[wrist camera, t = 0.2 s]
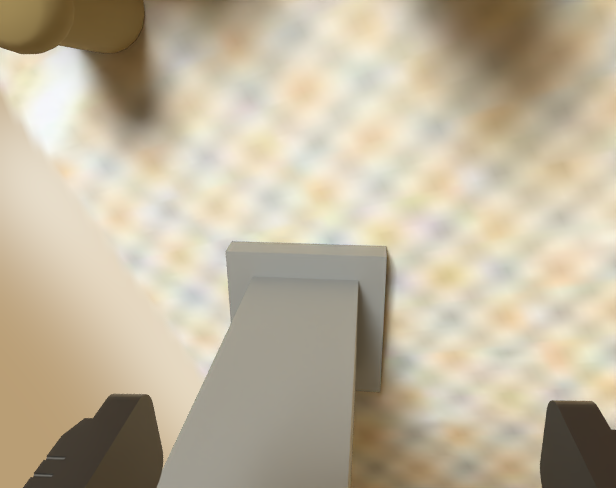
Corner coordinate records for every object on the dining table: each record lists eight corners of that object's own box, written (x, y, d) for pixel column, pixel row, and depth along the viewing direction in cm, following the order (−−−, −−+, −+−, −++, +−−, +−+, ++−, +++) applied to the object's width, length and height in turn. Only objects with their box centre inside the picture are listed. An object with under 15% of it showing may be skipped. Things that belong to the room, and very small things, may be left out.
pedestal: (379, 377, 46) (394, 1016, 16) (240, 369, 47) (21, 949, 18) (385, 246, 41) (421, 803, 12) (232, 241, 42) (-84, 734, 13)
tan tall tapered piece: (46, -33, 36) (-79, -54, 26) (129, -52, 35) (32, -83, 25) (76, 60, 39) (-29, 74, 28) (155, 44, 38) (75, 52, 27)
